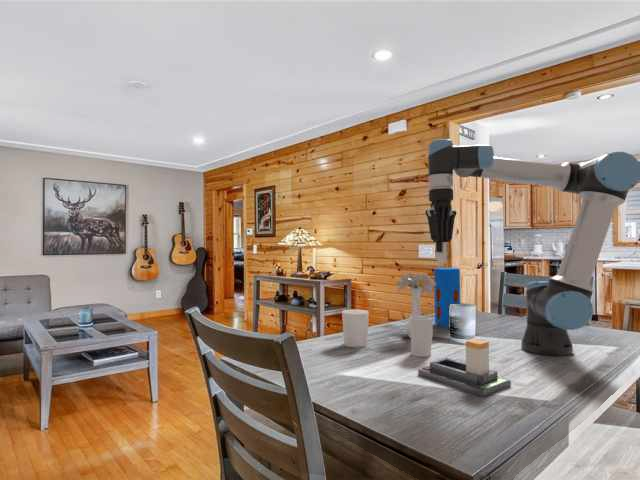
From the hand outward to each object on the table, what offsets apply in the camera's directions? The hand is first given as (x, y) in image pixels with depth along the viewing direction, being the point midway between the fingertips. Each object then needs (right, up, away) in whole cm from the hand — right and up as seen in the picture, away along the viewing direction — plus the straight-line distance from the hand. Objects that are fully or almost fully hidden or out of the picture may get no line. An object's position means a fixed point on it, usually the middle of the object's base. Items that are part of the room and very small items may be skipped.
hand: (442, 262), depth 129 cm
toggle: (+2, -28, -25) cm, 38 cm away
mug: (-5, -31, +4) cm, 31 cm away
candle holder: (-26, -31, +17) cm, 44 cm away
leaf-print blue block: (+17, -31, +48) cm, 60 cm away
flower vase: (-2, -31, +28) cm, 42 cm away
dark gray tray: (-1, -30, -21) cm, 37 cm away
